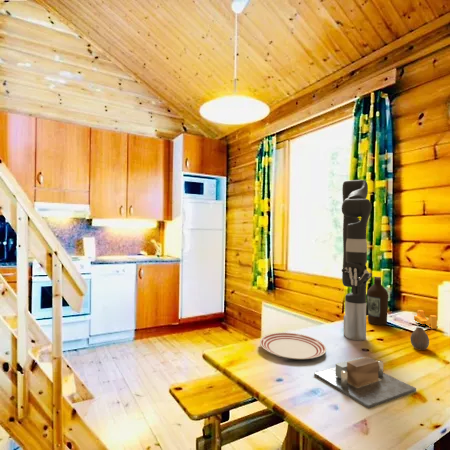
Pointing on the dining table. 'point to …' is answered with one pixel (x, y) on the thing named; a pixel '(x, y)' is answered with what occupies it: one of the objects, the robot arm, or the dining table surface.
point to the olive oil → (377, 303)
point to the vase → (419, 339)
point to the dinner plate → (293, 346)
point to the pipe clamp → (422, 319)
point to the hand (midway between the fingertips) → (356, 294)
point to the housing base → (367, 387)
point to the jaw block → (362, 371)
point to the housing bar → (342, 367)
